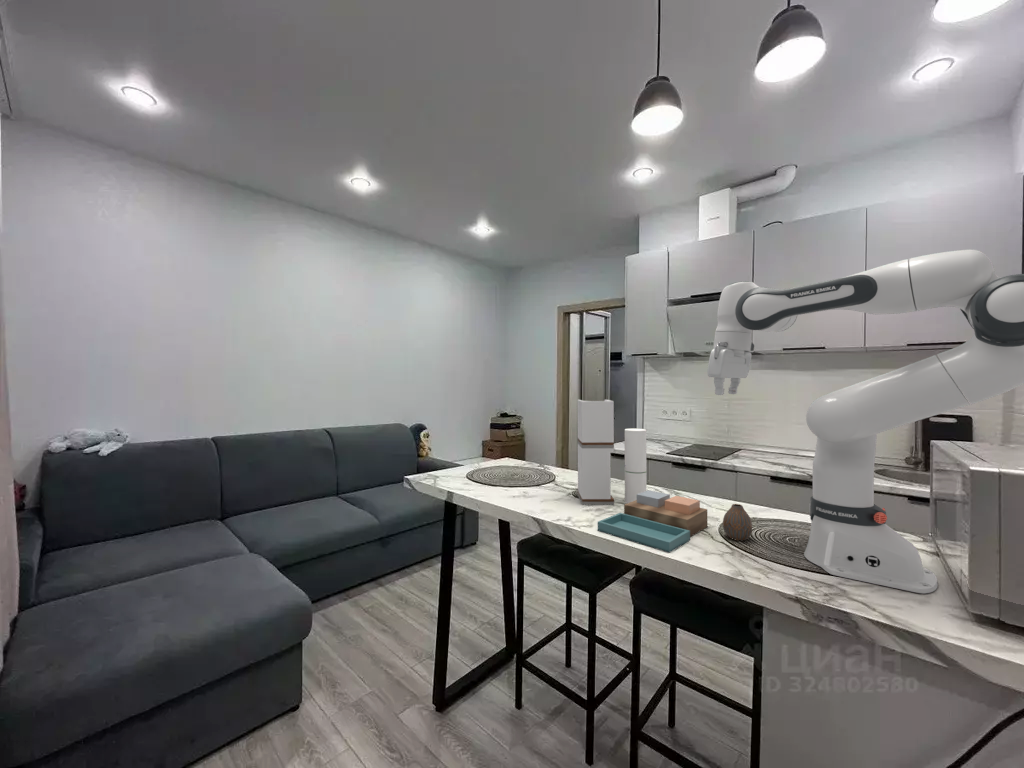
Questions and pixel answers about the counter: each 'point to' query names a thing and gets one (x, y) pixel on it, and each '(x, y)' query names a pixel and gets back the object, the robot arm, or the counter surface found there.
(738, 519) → the vase
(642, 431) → the cylindrical container
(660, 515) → the block
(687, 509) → the terracotta tile
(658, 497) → the slate tile
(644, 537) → the tray
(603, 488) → the white stacked pillar
